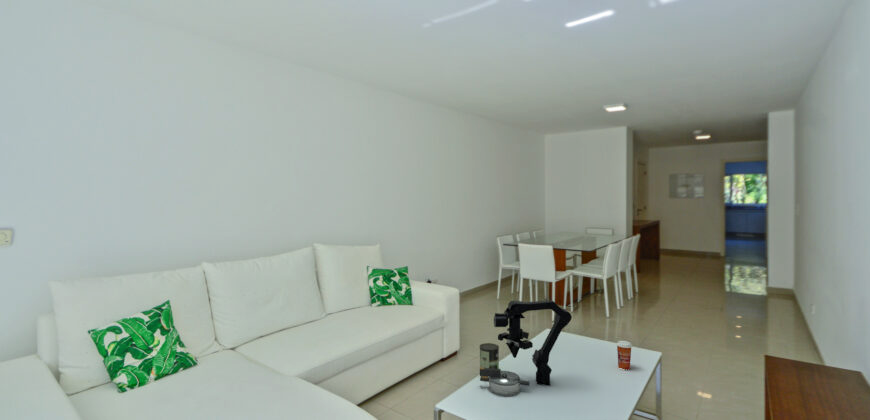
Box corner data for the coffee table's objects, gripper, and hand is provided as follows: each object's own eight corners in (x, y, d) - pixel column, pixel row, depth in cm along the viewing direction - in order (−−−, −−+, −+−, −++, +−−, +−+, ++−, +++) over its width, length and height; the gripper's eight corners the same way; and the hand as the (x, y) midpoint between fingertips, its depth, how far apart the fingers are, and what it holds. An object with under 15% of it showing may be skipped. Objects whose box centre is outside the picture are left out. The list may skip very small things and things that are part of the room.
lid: (519, 373, 206) (519, 364, 206) (520, 386, 191) (520, 376, 191) (480, 370, 209) (480, 362, 209) (479, 383, 194) (479, 374, 194)
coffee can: (499, 369, 224) (499, 343, 223) (498, 377, 214) (498, 350, 213) (480, 367, 226) (480, 342, 225) (478, 375, 216) (478, 349, 215)
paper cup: (616, 369, 222) (616, 344, 221) (616, 364, 229) (616, 339, 229) (632, 372, 219) (632, 346, 218) (631, 366, 226) (631, 341, 226)
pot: (529, 385, 204) (529, 375, 204) (529, 399, 190) (529, 388, 190) (482, 380, 210) (482, 370, 210) (478, 393, 195) (478, 383, 195)
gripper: (540, 328, 203) (540, 359, 203) (512, 319, 218) (512, 348, 219) (524, 332, 196) (524, 365, 197) (497, 323, 212) (497, 353, 212)
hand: (514, 357), depth 206 cm, fingers closed
